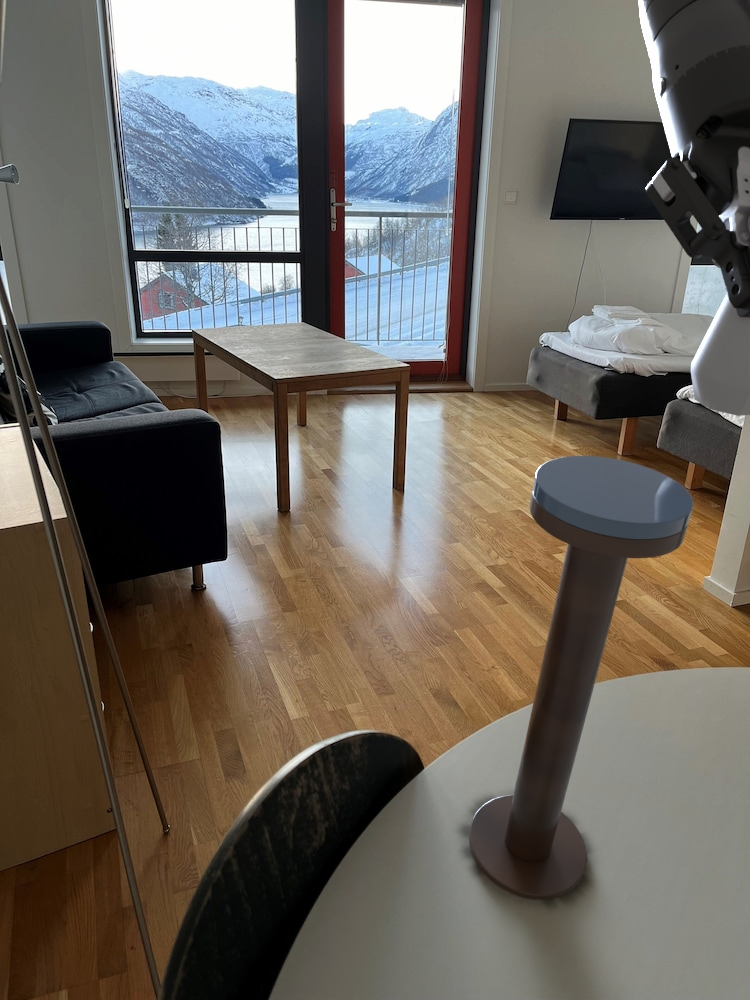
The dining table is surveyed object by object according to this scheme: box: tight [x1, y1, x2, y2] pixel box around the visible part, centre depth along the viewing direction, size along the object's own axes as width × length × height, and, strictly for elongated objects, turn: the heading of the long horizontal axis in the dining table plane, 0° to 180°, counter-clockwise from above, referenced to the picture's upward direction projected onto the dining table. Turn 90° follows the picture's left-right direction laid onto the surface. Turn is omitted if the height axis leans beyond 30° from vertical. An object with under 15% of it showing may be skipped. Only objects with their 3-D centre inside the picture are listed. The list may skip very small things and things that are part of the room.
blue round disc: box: [532, 455, 694, 539], centre depth 43 cm, size 9×9×1 cm
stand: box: [468, 490, 690, 901], centre depth 51 cm, size 9×9×31 cm
